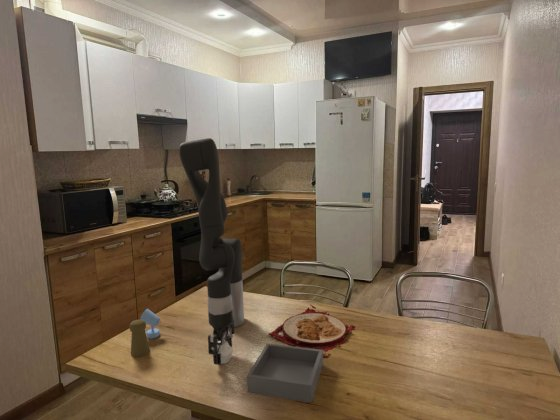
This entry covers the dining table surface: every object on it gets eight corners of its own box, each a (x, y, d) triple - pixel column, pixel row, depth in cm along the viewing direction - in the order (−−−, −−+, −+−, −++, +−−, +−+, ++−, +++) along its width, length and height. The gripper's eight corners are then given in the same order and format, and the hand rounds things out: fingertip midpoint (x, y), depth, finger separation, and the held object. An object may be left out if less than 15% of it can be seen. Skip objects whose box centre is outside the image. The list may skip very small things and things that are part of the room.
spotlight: (139, 337, 138) (157, 339, 136) (137, 311, 136) (154, 312, 135) (147, 331, 142) (164, 332, 141) (144, 306, 141) (161, 307, 139)
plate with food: (266, 338, 136) (266, 329, 135) (308, 310, 156) (308, 302, 155) (325, 362, 121) (325, 351, 120) (363, 327, 141) (363, 318, 140)
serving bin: (267, 357, 122) (266, 343, 121) (323, 365, 117) (322, 349, 116) (247, 392, 105) (246, 376, 104) (311, 402, 100) (311, 385, 99)
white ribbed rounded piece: (233, 365, 118) (232, 344, 117) (213, 368, 117) (212, 346, 116) (232, 355, 124) (231, 335, 123) (213, 357, 123) (212, 337, 122)
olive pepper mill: (143, 357, 125) (140, 325, 123) (127, 355, 126) (123, 324, 124) (153, 347, 130) (150, 317, 129) (137, 346, 132) (134, 316, 130)
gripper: (219, 298, 126) (221, 344, 128) (198, 317, 112) (201, 367, 115) (240, 300, 124) (242, 346, 126) (221, 319, 110) (224, 370, 113)
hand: (223, 356), depth 120 cm, fingers open, 8 cm apart
